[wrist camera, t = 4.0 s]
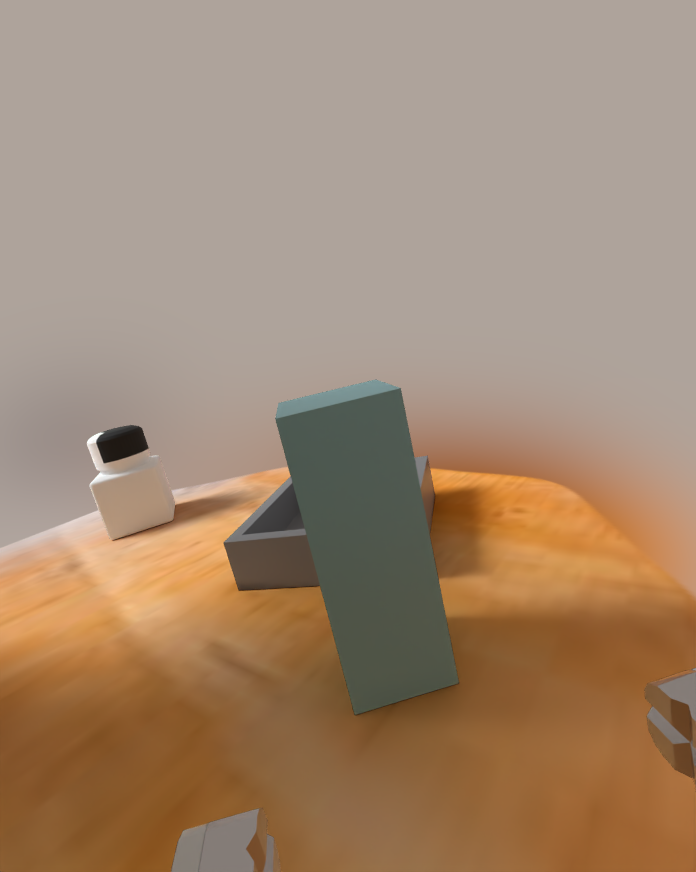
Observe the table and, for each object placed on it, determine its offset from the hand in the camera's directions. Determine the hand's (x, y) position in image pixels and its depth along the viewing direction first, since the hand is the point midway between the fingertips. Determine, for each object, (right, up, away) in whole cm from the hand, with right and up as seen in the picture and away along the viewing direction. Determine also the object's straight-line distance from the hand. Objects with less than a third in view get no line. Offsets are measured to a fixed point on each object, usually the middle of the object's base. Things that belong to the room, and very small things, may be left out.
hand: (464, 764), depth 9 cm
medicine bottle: (-27, -4, +45) cm, 53 cm away
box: (-2, -2, +28) cm, 28 cm away
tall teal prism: (0, -5, +14) cm, 14 cm away
